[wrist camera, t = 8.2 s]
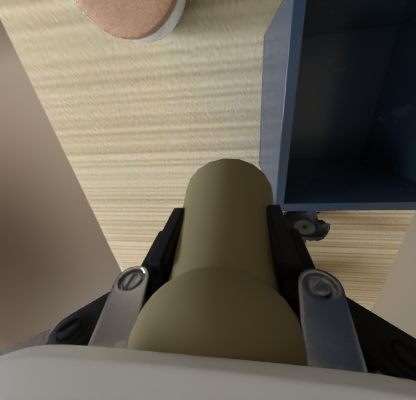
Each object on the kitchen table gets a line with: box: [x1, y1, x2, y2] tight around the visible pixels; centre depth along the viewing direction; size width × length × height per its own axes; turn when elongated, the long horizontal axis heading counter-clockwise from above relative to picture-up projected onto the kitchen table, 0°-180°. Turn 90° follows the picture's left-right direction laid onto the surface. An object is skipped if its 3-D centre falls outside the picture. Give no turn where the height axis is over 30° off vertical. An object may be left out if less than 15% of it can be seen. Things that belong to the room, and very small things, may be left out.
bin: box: [259, 0, 416, 211], centre depth 20 cm, size 16×15×14 cm
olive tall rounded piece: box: [127, 159, 308, 366], centre depth 9 cm, size 6×6×11 cm
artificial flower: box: [284, 211, 330, 243], centre depth 35 cm, size 9×22×10 cm, turn 9°
